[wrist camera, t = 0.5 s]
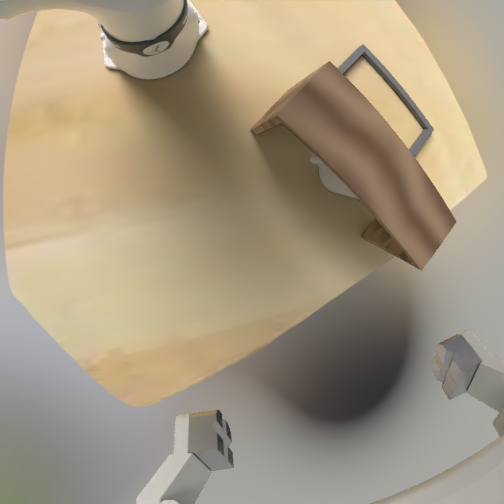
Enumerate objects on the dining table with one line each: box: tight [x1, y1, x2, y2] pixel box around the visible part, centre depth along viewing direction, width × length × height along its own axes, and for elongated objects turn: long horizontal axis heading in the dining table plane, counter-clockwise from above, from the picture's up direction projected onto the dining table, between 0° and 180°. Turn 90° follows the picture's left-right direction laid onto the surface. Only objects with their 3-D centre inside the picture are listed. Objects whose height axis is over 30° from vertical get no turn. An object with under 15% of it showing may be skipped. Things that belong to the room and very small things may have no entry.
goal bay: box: [337, 44, 434, 157], centre depth 50 cm, size 16×23×2 cm
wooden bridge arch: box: [251, 61, 456, 270], centre depth 44 cm, size 10×30×18 cm, turn 49°
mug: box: [310, 154, 358, 199], centre depth 48 cm, size 12×8×11 cm
